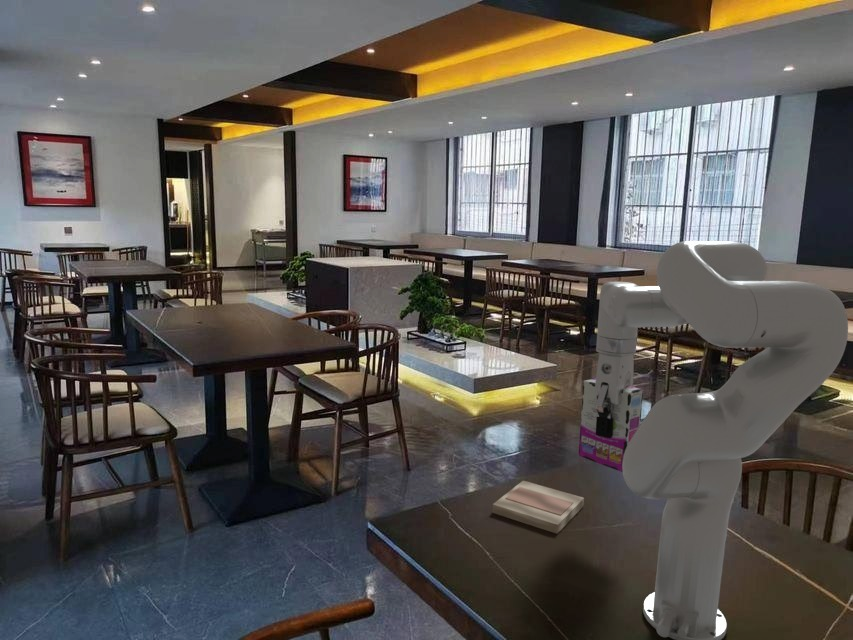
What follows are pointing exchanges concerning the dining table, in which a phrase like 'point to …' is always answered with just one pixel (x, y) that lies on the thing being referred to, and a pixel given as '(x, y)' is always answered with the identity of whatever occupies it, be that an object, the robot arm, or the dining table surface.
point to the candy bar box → (623, 426)
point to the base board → (539, 506)
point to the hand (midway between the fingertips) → (609, 430)
